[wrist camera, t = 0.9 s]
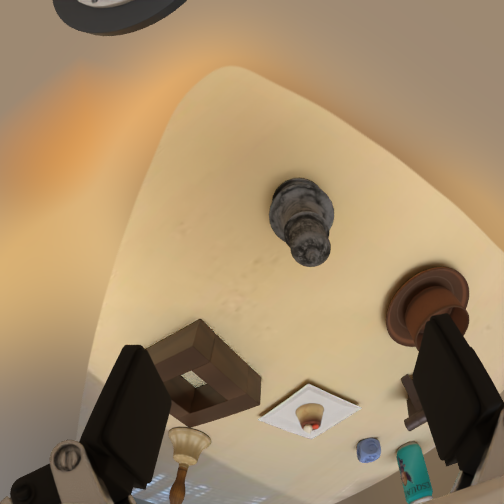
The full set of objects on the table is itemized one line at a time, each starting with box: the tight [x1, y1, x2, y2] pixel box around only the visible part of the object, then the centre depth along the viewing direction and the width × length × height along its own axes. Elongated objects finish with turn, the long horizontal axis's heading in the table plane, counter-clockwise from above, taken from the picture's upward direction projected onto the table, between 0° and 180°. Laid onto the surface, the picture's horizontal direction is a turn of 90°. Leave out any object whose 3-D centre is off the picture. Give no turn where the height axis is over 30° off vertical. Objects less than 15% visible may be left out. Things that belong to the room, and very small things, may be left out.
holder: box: [146, 319, 261, 428], centre depth 40 cm, size 13×13×5 cm
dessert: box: [258, 384, 362, 439], centre depth 44 cm, size 12×12×5 cm
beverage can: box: [397, 442, 433, 504], centre depth 47 cm, size 6×6×15 cm
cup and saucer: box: [386, 267, 469, 351], centre depth 33 cm, size 12×12×6 cm
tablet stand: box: [401, 374, 427, 431], centre depth 39 cm, size 9×8×8 cm
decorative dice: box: [357, 438, 381, 463], centre depth 50 cm, size 4×4×4 cm
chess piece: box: [269, 178, 334, 267], centre depth 26 cm, size 6×6×12 cm
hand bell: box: [168, 427, 211, 504], centre depth 45 cm, size 8×8×16 cm
